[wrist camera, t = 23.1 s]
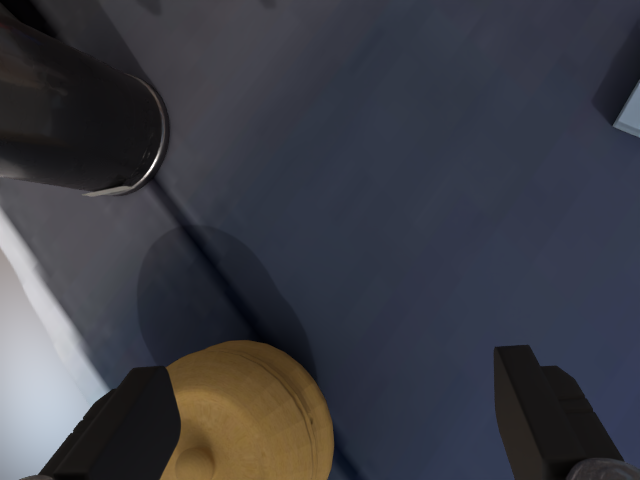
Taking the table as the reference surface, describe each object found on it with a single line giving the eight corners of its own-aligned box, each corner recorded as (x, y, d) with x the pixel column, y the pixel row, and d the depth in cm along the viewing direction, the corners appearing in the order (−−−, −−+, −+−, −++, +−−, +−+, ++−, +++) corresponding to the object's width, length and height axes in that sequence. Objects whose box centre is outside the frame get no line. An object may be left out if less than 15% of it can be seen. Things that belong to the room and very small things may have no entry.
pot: (278, 540, 36) (198, 643, 26) (167, 416, 39) (59, 468, 29) (385, 417, 33) (341, 482, 24) (258, 297, 37) (174, 312, 27)
